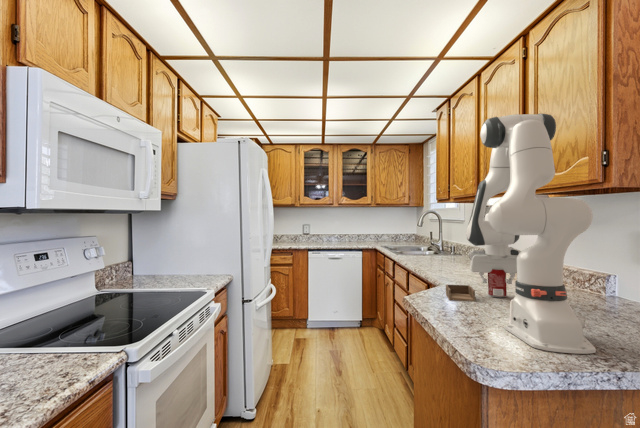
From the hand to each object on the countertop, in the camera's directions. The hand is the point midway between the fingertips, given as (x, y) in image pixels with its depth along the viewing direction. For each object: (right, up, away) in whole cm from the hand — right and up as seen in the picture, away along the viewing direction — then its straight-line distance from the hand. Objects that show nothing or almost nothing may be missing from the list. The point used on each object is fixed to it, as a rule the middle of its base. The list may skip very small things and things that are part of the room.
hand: (496, 283), depth 131 cm
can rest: (-16, -6, -1) cm, 17 cm away
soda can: (0, -6, 0) cm, 6 cm away
